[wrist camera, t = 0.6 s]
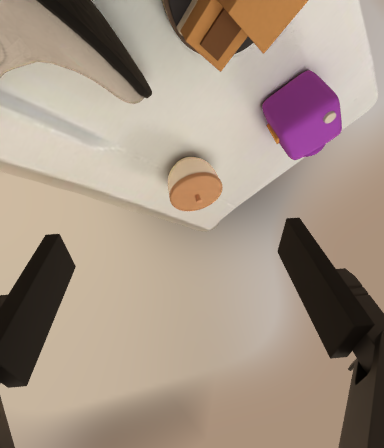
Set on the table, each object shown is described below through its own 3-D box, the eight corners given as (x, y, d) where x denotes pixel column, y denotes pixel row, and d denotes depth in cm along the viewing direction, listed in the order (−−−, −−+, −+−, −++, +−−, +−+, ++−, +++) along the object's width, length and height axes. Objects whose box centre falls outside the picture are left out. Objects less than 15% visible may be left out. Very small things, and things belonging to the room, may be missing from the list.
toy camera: (281, 143, 52) (304, 176, 47) (249, 110, 43) (272, 147, 38) (329, 105, 47) (360, 138, 42) (304, 57, 37) (340, 92, 32)
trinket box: (205, 183, 57) (217, 214, 52) (160, 186, 54) (169, 220, 49) (216, 146, 48) (232, 180, 44) (164, 148, 45) (175, 185, 40)
